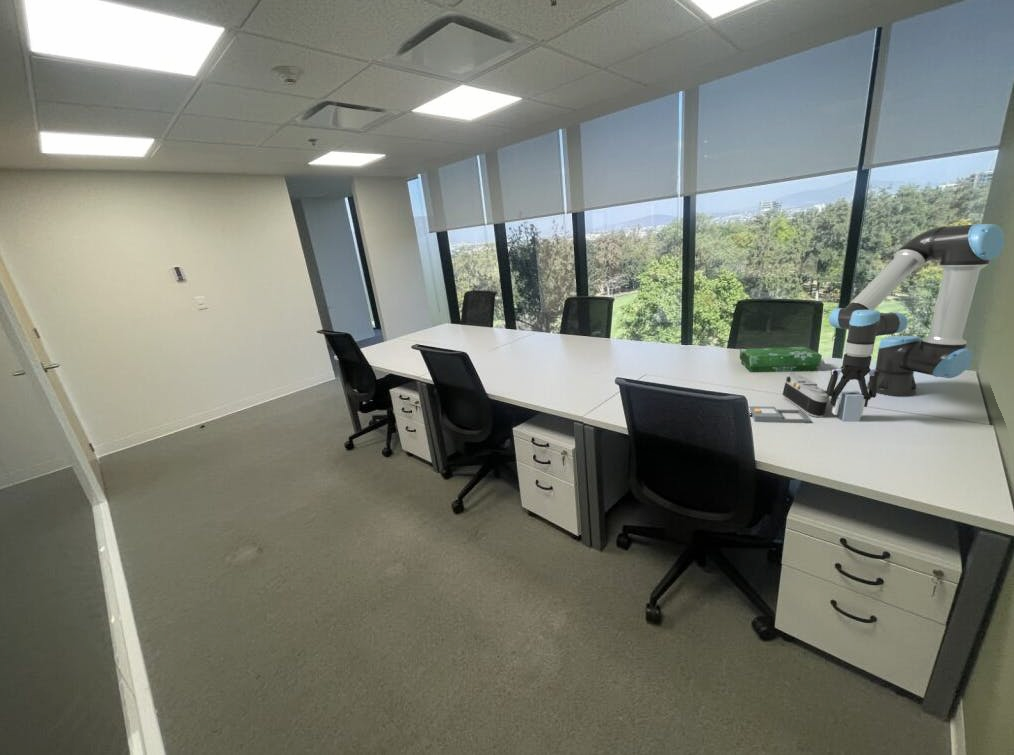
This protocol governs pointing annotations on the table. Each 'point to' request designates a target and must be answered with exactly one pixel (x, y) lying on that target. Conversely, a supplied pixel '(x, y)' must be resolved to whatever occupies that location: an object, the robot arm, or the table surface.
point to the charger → (850, 406)
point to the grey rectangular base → (775, 415)
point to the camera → (805, 394)
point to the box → (780, 359)
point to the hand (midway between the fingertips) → (846, 414)
